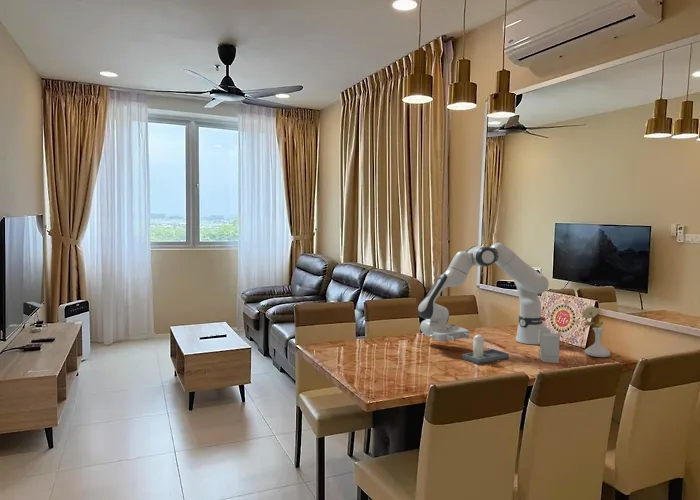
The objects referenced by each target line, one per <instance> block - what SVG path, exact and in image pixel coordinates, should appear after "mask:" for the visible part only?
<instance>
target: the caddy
mask: <svg viewBox="0 0 700 500" xmlns="http://www.w3.org/2000/svg"><path fill="white" fill-rule="evenodd" d="M461 355H462V357H461V359H462V360H464V361H465V362H466V361H467V362H469V363H472V364H475V365H478V366H479V365H484V364H489V363H494V362H495V363H496V362H499V361H504V360H508V359H510V354H509V353H508V352H504V351H501V350H498V349H495V348H489V349H483V358H480V359H477V358H474V357H473V351H472V352H467V353H462V354H461Z"/></svg>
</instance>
